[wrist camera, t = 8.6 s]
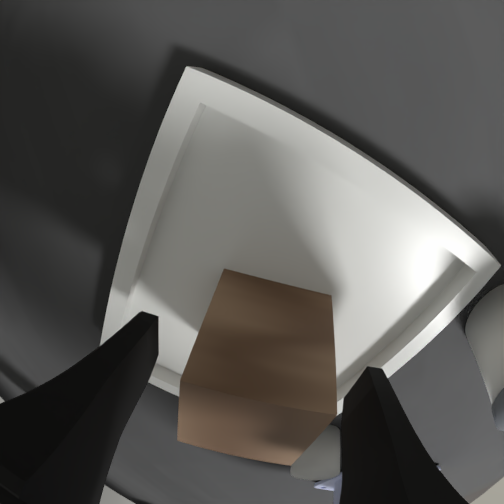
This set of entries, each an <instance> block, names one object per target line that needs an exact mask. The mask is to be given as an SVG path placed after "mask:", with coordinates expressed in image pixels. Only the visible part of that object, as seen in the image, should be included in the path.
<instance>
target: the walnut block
mask: <svg viewBox="0 0 504 504" xmlns="http://www.w3.org/2000/svg"><path fill="white" fill-rule="evenodd" d="M336 416H337V382H336V357H335V338H334V322H333V308H332V295H328V294H323V293H319V292H315V291H311V290H307V289H303V288H299V287H295V286H291V285H287V284H283V283H279V282H275V281H271V280H267V279H263V278H259V277H255V276H251V275H248V274H244V273H240V272H236V271H232V270H228V269H224V270H223V272H222V275H221V277H220V280H219V282H218V285H217V287H216V290H215V292H214V295H213V297H212V300H211V302H210V305H209V307H208V310H207V312H206V315H205V317H204V320H203V322H202V325H201V328H200V330H199V333H198V335H197V338H196V340H195V343H194V345H193V348H192V351H191V353H190V356H189V358H188V361H187V364H186V366H185V369H184V371H183V374H182V377H181V379H180V390H179V411H178V438H177V441H181V442H184V443H187V444H191V445H194V446H198V447H202V448H205V449H209V450H213V451H217V452H221V453H225V454H230V455H234V456H239V457H244V458H248V459H254V460H259V461H264V462H270V463H276V464H283V465H290V466H291V465H292V464H293V463H294V462H295V461H296V460H297V459H298V458H299V457H300V456H301V455H302V454H303V452H304V451H305V450H306V449H307V448H308V447H309V446H310V445H311V444H312V443H313V442H314V441H315V440H316V439H317V437H318V436H319V435H320V434H321V433H322V432H323V431H324V430H325V428H326V427H327V426H328V425H329V424H330V423H331V422H332V420H333V419H334V418H335V417H336Z"/></svg>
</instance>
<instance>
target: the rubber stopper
mask: <svg viewBox="0 0 504 504" xmlns="http://www.w3.org/2000/svg"><path fill="white" fill-rule="evenodd" d="M290 474H291V475H292V476H293V477H295V478H298V479H303V480H325V479H330V478H333V477H336V476H337V475H339V474H340V430H339V428H337V427H336V426H333V425H330V424H329V425H328V426H327V427H326V428H325V430H324V431H323V432H322V433H321V434H320V435H319V436H318V437H317V439H316V440H315V441H314V442H313V443H312V444H311V445H310V446H309V447H308V448H307V449H306V450H305V451H304V452H303V454H302V455H301V456H300V457H299V458H298V459H297V460H296V461H295V462H294V463H293V464H292V465H291V470H290Z"/></svg>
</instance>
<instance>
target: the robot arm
mask: <svg viewBox="0 0 504 504" xmlns="http://www.w3.org/2000/svg"><path fill="white" fill-rule="evenodd" d="M158 355H159V316H156V315H153V314H150V313H147V312H144V311H141V312H139V313H138V314H137V315H136V316H134V317H133V318H132V319H131V320H130V321H129V322H128V323H127V324H126V325H124V326H123V327H122V328H121V329H120V330H119V331H117V332H116V333H115V334H114V335H113V336H112V337H110V338H109V339H108V340H107V341H105V342H104V343H103V344H102V345H100V346H99V347H98V348H97V349H95V350H94V351H93V352H91V353H90V354H89V355H87V356H86V357H85V358H83V359H82V360H80V361H79V362H78V363H76V364H75V365H74V366H72V367H71V368H69V369H68V370H66V371H64V372H63V373H61V374H60V375H58V376H56V377H55V378H53V379H51V380H50V381H48V382H46V383H44V384H42V385H40V386H39V387H37V388H35V389H33V390H31V391H29V392H27V393H25V394H22V395H20V396H18V397H15V398H13V399H10V400H8V401H6V402H3V403H1V404H0V504H99V503H100V499H101V495H102V491H103V487H104V484H105V481H106V477H107V474H108V471H109V468H110V465H111V462H112V459H113V456H114V453H115V450H116V448H117V445H118V442H119V439H120V437H121V434H122V432H123V430H124V428H125V426H126V424H127V422H128V420H129V418H130V416H131V414H132V412H133V410H134V408H135V406H136V404H137V402H138V400H139V398H140V397H141V395H142V393H143V391H144V389H145V387H146V385H147V383H148V381H149V379H150V376H151V374H152V371H153V369H154V366H155V363H156V360H157V358H158ZM341 434H342V472H340V474H339V475H337V476H336V477H333V478H330V479H325V480H321V481H319V482H316V483H314V487H315V488H319V489H325V490H332V491H334V497H333V504H469V503H468V502H467V501H466V500H465V499H464V498H463V497H462V496H461V495H460V494H459V493H458V492H457V491H456V490H455V489H454V488H453V486H452V485H451V484H450V483H449V482H448V480H447V479H446V478H445V477H444V475H443V474H442V473H441V471H440V470H441V468H440V466H436V465H435V463H434V462H433V460H432V459H431V457H430V456H429V454H428V453H427V451H426V450H425V448H424V446H423V445H422V443H421V441H420V439H419V438H418V436H417V434H416V433H415V431H414V429H413V427H412V425H411V424H410V422H409V420H408V418H407V416H406V414H405V412H404V410H403V408H402V406H401V404H400V402H399V400H398V398H397V396H396V394H395V392H394V390H393V388H392V386H391V384H390V382H389V380H388V378H387V376H386V374H385V373H384V371H383V369H382V368H376V367H369V366H367V367H366V369H365V370H364V371H363V373H362V374H361V376H360V377H359V378H358V380H357V381H356V382H355V384H354V385H353V386H352V388H351V389H350V390H349V392H348V393H347V394H346V396H345V397H344V400H343V410H342V421H341Z"/></svg>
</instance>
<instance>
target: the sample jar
mask: <svg viewBox="0 0 504 504" xmlns="http://www.w3.org/2000/svg"><path fill="white" fill-rule="evenodd" d="M465 334H466V338H467V340H468V342H469V345H470V347H471V349H472V352H473V354H474V357H475V359H476V362H477V364H478V367H479V369H480V372H481V375H482V377H483V380H484V383H485V385H486V388H487V391H488V394H489V397H490V400H491V403H492V414H493V417H494V420H495V424H496V427H497V429H498V430H500V431H504V284H502V285H500V286H498V287H496V288H494V289H492V290H491V291H490V292H488V293H487V294H486V295H485V296H484V297H483V298H482V299H481V300H480V301H479V302H478V303H477V304H476V305H475V307H474V308H473V310H472V311H471V313H470V315H469V317H468V319H467V322H466V326H465Z"/></svg>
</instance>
